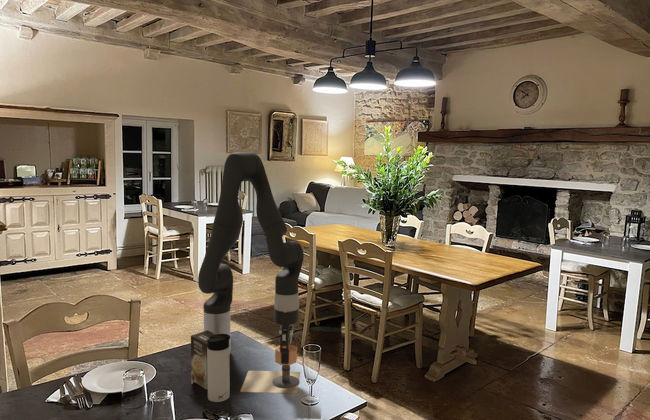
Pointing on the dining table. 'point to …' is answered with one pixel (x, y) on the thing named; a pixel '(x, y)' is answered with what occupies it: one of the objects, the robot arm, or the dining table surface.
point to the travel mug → (218, 367)
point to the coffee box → (199, 358)
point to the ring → (291, 354)
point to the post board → (272, 381)
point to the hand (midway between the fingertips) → (286, 358)
